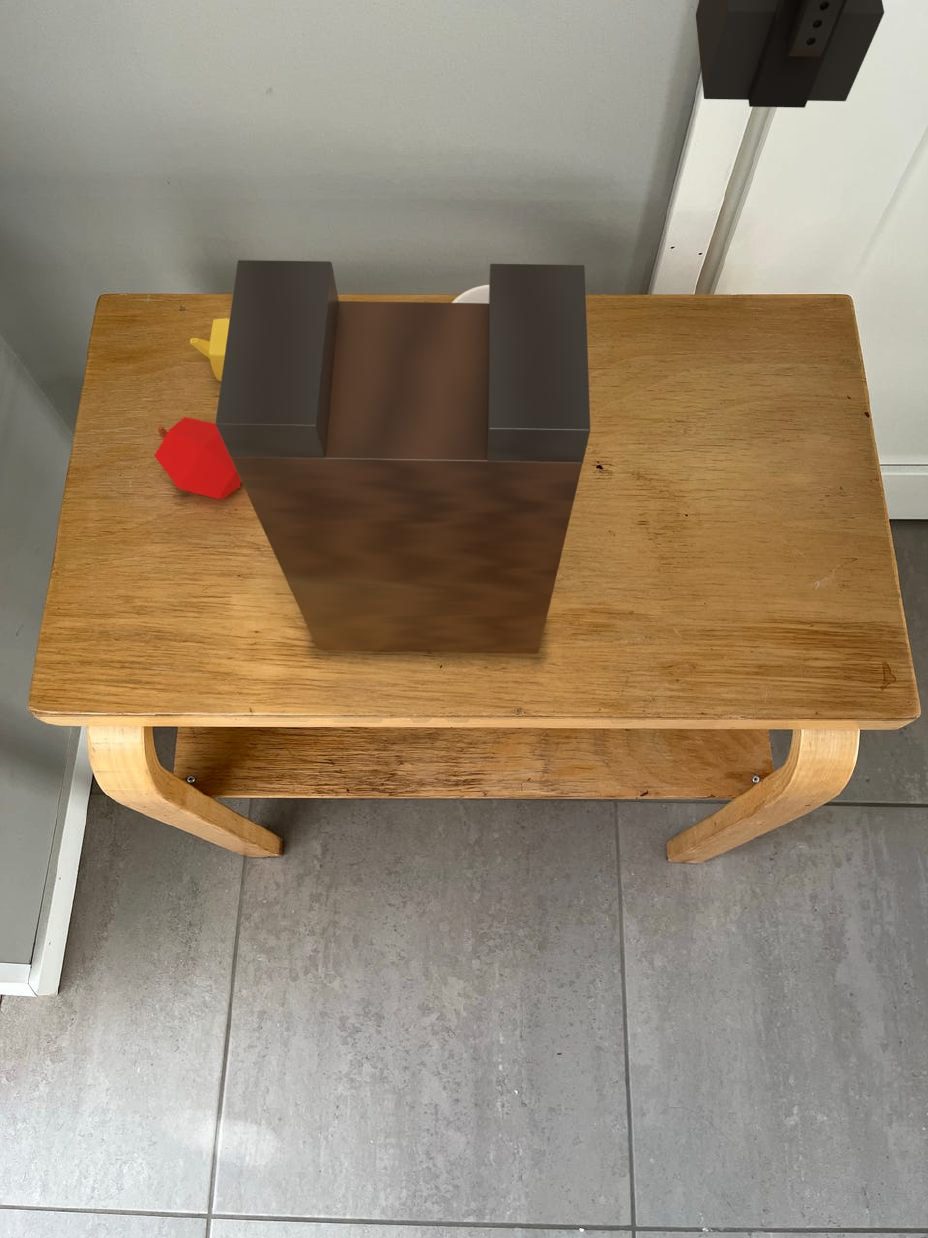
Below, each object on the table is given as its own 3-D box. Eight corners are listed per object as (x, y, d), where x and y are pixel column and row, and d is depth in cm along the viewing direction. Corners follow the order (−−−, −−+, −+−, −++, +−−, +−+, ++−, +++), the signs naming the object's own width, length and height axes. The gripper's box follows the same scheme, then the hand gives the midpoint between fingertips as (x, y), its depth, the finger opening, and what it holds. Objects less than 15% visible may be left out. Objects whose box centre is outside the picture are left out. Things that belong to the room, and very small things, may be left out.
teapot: (197, 399, 83) (181, 363, 78) (205, 346, 85) (189, 309, 80) (285, 400, 83) (274, 365, 78) (290, 347, 85) (280, 310, 80)
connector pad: (830, 17, 47) (866, -77, 43) (846, 101, 45) (885, 12, 41) (695, 15, 47) (717, -79, 43) (703, 99, 45) (728, 9, 41)
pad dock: (537, 543, 78) (584, 264, 47) (538, 654, 74) (590, 430, 44) (326, 539, 78) (237, 258, 47) (317, 650, 75) (214, 424, 44)
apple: (263, 445, 75) (179, 386, 74) (215, 512, 74) (130, 454, 73) (264, 459, 82) (187, 405, 81) (220, 521, 81) (142, 468, 80)
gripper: (852, -888, 28) (682, -74, 49) (961, -605, 21) (708, 196, 42) (1101, -886, 28) (821, -72, 49) (1291, -602, 21) (870, 199, 42)
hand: (769, 51), depth 46 cm, fingers closed on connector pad, 6 cm apart
